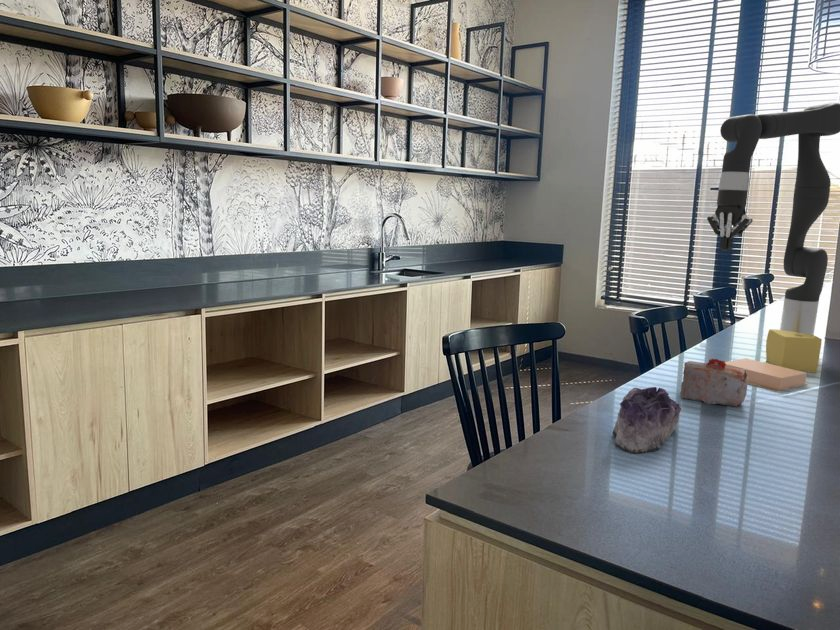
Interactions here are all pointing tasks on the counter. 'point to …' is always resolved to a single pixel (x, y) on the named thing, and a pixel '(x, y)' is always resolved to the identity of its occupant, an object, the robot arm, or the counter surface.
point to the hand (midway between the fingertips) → (725, 250)
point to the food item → (714, 383)
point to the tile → (769, 374)
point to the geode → (645, 420)
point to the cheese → (793, 350)
